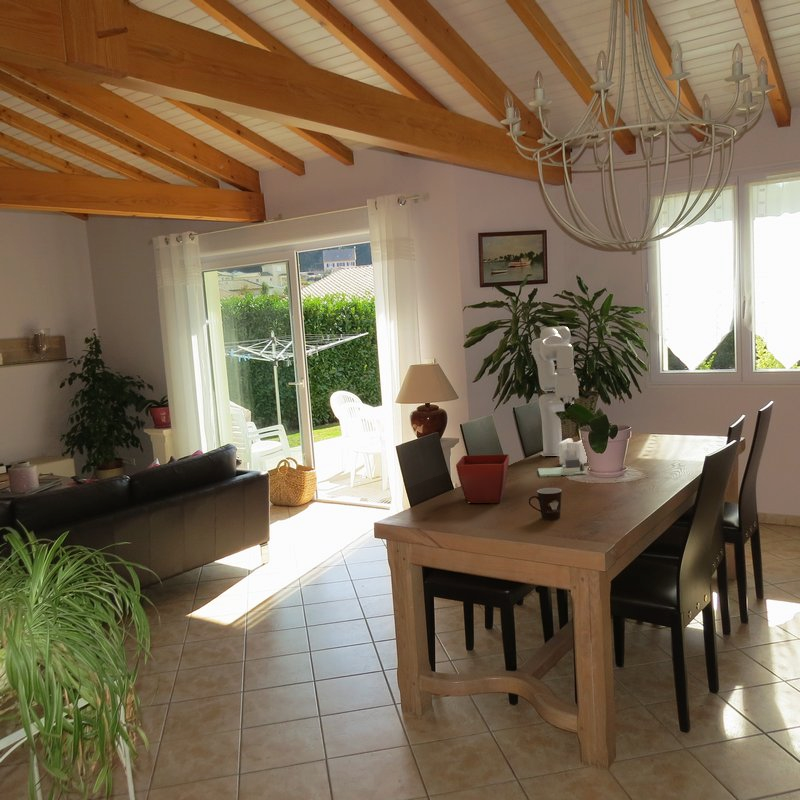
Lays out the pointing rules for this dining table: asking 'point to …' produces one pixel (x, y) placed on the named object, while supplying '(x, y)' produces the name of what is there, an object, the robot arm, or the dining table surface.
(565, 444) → the cable organizer
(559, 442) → the robot arm
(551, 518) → the coffee mug
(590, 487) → the dining table surface
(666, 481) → the dining table surface
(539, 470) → the board
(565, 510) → the dining table surface
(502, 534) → the dining table surface
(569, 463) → the plug
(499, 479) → the plant pot
